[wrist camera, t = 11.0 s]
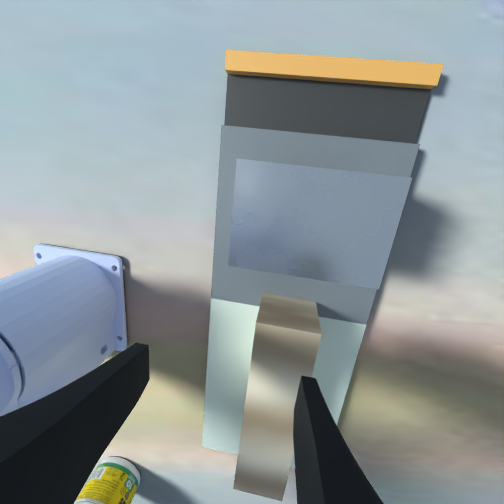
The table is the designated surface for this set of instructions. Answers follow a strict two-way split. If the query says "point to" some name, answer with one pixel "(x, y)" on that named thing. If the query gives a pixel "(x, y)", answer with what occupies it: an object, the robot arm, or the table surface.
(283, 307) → the bar
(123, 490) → the supplement bottle
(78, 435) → the robot arm
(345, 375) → the board
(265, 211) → the tunnel
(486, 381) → the table surface
